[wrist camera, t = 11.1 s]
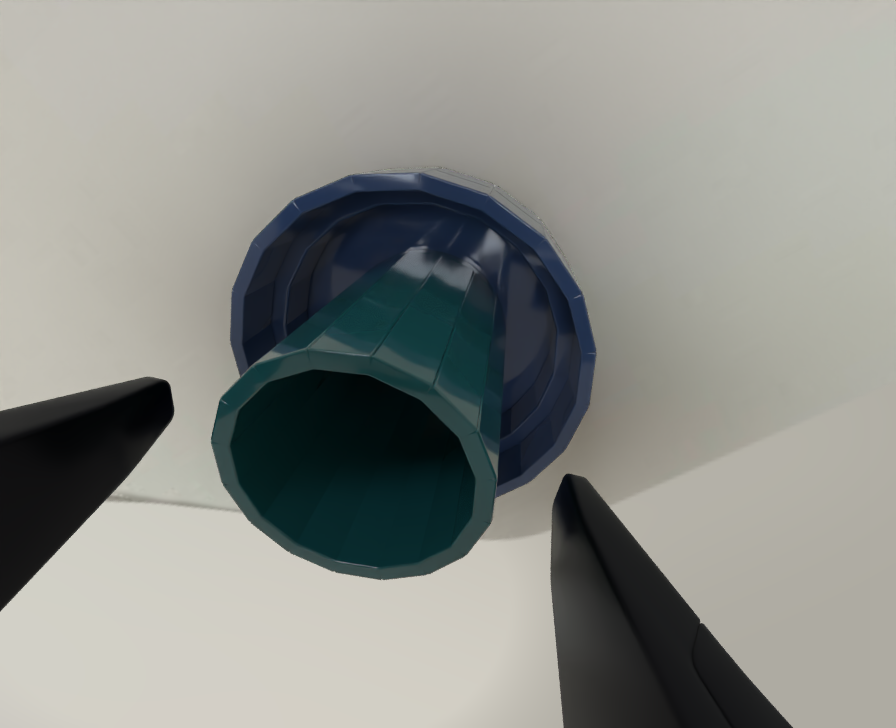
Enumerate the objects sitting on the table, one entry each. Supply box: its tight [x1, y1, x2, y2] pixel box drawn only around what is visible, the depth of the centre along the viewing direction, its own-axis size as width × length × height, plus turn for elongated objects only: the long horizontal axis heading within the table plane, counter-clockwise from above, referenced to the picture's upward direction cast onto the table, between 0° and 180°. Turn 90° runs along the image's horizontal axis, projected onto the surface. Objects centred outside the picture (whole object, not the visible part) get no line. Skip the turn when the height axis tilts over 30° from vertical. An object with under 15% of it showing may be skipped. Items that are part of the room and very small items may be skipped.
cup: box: [211, 250, 506, 580], centre depth 12 cm, size 6×6×8 cm
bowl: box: [230, 167, 596, 498], centre depth 14 cm, size 11×11×4 cm
